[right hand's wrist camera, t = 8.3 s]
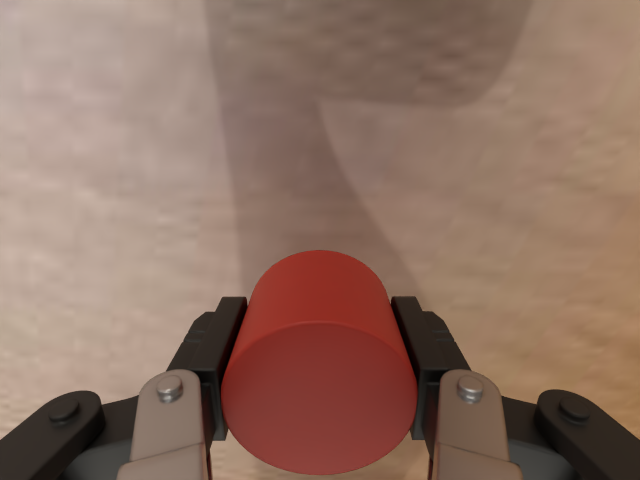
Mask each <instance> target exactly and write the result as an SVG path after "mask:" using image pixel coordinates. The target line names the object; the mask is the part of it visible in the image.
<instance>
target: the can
mask: <svg viewBox="0 0 640 480" xmlns="http://www.w3.org/2000/svg"><path fill="white" fill-rule="evenodd" d="M417 396H418V385H417V380H416V377H415V374H414V372H413V369H412V366H411V363H410V360H409V357H408V354H407V351H406V348H405V345H404V342H403V339H402V337H401V334H400V331H399V328H398V325H397V322H396V319H395V316H394V313H393V310H392V307H391V305H390V302H389V299H388V296H387V293H386V290H385V288H384V286H383V284H382V282H381V281H380V279H379V278H378V277H377V275H376V274H375V273H374V272H373V271H372V270H371V269H370V268H368V267H367V266H366V265H365V264H363V263H362V262H360V261H358V260H357V259H355V258H353V257H350V256H348V255H345V254H342V253H338V252H333V251H324V250H315V251H306V252H301V253H297V254H294V255H291V256H289V257H287V258H285V259H282V260H281V261H279V262H278V263H276V264H275V265H273V266H272V267H271V268H270V269H268V270H267V271H266V272H265V274H264V275H263V276H262V277H261V278H260V280H259V281H258V283H257V284H256V286H255V289H254V291H253V293H252V296H251V299H250V302H249V305H248V308H247V310H246V313H245V316H244V319H243V322H242V325H241V328H240V331H239V333H238V336H237V339H236V342H235V345H234V348H233V351H232V354H231V356H230V359H229V362H228V365H227V368H226V371H225V374H224V377H223V381H222V384H221V407H222V412H223V416H224V419H225V421H226V424H227V426H228V428H229V430H230V431H231V433H232V435H233V436H234V437H235V438H236V440H237V441H238V442H239V443H240V444H241V445H242V446H243V447H244V448H245V449H246V450H247V451H248V452H250V453H251V454H253V455H254V456H255V457H257V458H259V459H260V460H262V461H264V462H265V463H268V464H270V465H272V466H275V467H277V468H280V469H283V470H286V471H291V472H295V473H301V474H309V475H329V474H338V473H344V472H348V471H352V470H356V469H359V468H362V467H364V466H367V465H369V464H371V463H373V462H375V461H377V460H379V459H380V458H382V457H384V456H385V455H387V454H388V453H389V452H390V451H392V450H393V449H394V448H395V447H396V446H397V445H398V444H399V443H400V442H401V441H402V440H403V438H404V437H405V436H406V434H407V433H408V431H409V430H410V428H411V426H412V424H413V422H414V419H415V413H416V405H417Z"/></svg>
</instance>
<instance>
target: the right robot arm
mask: <svg viewBox="0 0 640 480" xmlns="http://www.w3.org/2000/svg"><path fill="white" fill-rule="evenodd" d="M391 307H392V310H393V313H394V316H395V319H396V322H397V325H398V328H399V331H400V334H401V337H402V339H403V342H404V345H405V348H406V351H407V354H408V357H409V360H410V363H411V366H412V369H413V372H414V374H415V377H416V380H417V385H418V396H417V405H416V413H415V419H414V422H413V424H412V426H411V428H410V433H411V437H412V440H425V442H426V445H427V449H428V452H429V461H428V474H427V480H640V440H639V439H638V438H636V437H635V436H634V435H633V434H631V433H630V432H629V431H628V430H627V429H625V428H624V427H623V426H622V425H620V424H619V423H618V422H617V421H615V420H614V419H613V418H612V417H610V416H609V415H608V414H607V413H606V412H604V411H603V410H602V409H601V408H599V407H598V406H597V405H595V404H594V403H593V402H591V401H589V400H588V399H586V398H584V397H582V396H580V395H578V394H575V393H572V392H569V391H564V390H547V391H544V392H543V393H541V394H540V396H539V398H538V401H537V405H536V404H532V403H528V402H524V401H520V400H515V399H511V398H507V397H504V396H501V393H500V391H499V389H498V387H497V386H496V385H495V384H494V383H493V382H492V381H491V380H490V379H488V378H487V377H485V376H483V375H481V374H479V373H477V372H474V371H471V369H470V367H469V365H468V364H467V362H466V360H465V358H464V356H463V355H462V353H461V351H460V349H459V347H458V346H457V344H456V342H454V338H453V337H452V335H451V333H449V329H448V328H447V326H446V324H445V322H444V320H442V319H441V318H440V317H438V316H437V315H436V314H435V313H433V312H432V311H422V309H421V307H420V305H419V303H418V301H417V299H416V297H414V296H393V297H392V299H391ZM247 308H248V305H247V299H246V297H222V299H221V301H220V303H219V305H218V307H217V309H216V311H215V312H205V313H204V314H202V315H201V316H200V317H199V318H197V319H196V320H195V321H194V322H193V324H192V326H191V328H190V329H189V331H188V333H187V335H186V337H185V338H184V341H183V342H182V344H181V345H180V347H179V349H178V351H177V352H176V354H175V356H174V358H173V360H172V361H171V363H170V365H169V367H168V368H167V370H166V372H163V373H161V374H159V375H157V376H155V377H153V378H152V379H150V380H149V381H148V382H147V383H146V384H145V385H144V386H143V387H142V389H141V391H140V393H139V395H137V396H135V397H132V398H128V399H125V400H120V401H116V402H112V403H108V404H103V405H102V404H101V400H100V397H99V396H98V395H97V394H96V393H94V392H91V391H75V392H70V393H67V394H64V395H61V396H59V397H57V398H55V399H53V400H51V401H49V402H48V403H46V404H45V405H43V406H42V407H41V408H39V409H38V410H37V411H36V412H34V413H33V414H32V415H31V416H30V417H28V418H27V419H26V420H25V421H23V422H22V423H21V424H20V425H18V426H17V427H16V428H15V429H13V430H12V431H11V432H10V433H9V434H7V435H6V436H5V437H4V438H2V439H1V440H0V480H213V474H212V461H211V455H210V447H211V444H212V441H225V439H226V436H227V432H228V429H229V428H228V426H227V424H226V421H225V419H224V416H223V412H222V407H221V384H222V381H223V377H224V374H225V371H226V368H227V365H228V362H229V359H230V356H231V354H232V351H233V348H234V345H235V342H236V339H237V336H238V333H239V331H240V328H241V325H242V322H243V319H244V316H245V313H246V310H247Z"/></svg>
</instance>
